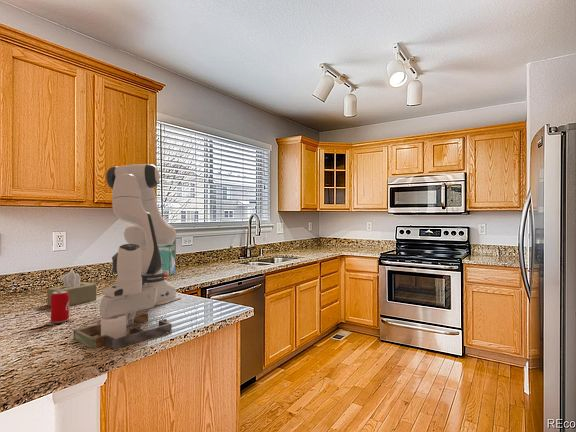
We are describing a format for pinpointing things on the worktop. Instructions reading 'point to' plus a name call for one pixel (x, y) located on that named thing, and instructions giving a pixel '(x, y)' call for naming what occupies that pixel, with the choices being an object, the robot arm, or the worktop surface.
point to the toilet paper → (114, 326)
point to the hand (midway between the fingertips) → (128, 324)
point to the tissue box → (74, 289)
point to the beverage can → (59, 306)
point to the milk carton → (168, 258)
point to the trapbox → (134, 336)
